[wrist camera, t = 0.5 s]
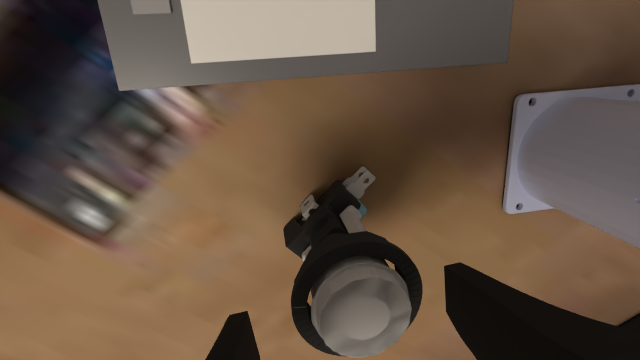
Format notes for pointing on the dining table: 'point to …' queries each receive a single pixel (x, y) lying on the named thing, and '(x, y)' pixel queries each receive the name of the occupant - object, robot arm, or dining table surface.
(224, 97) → the dining table surface
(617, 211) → the robot arm
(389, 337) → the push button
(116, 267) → the dining table surface
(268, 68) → the control panel
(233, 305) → the dining table surface
